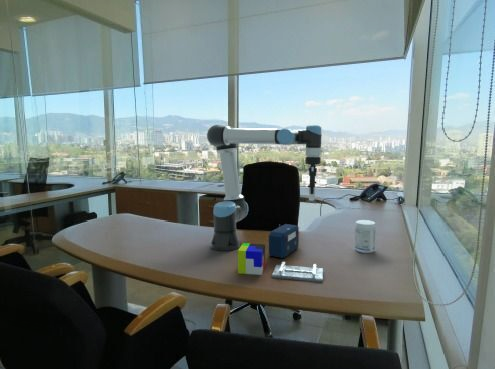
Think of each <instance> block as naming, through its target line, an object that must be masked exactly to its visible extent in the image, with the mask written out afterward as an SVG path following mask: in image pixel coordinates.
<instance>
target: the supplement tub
mask: <svg viewBox="0 0 495 369" xmlns="http://www.w3.org/2000/svg"><path fill="white" fill-rule="evenodd" d="M376 227H377V226H376V222H375V221H373V220H368V219H359V220H356V221H355V227H354V228H355V229H354V231H355V232H354V249H355V251H357V252H359V253H363V254H371V253H373V252H375V250H376Z"/></svg>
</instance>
